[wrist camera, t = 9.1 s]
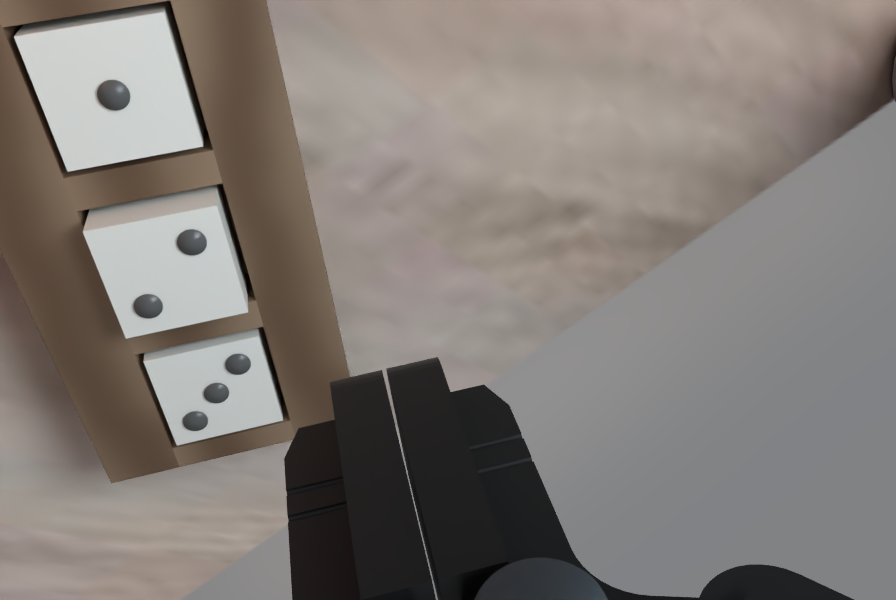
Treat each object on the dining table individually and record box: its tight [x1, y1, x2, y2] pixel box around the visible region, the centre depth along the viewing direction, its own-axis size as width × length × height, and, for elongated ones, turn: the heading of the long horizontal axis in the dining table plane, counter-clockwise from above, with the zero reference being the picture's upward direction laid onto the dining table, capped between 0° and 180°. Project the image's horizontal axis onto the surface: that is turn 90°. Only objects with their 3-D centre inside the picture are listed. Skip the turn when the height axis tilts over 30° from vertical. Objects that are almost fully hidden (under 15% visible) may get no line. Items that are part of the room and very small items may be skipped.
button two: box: [83, 184, 248, 339], centre depth 33 cm, size 5×5×3 cm
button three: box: [143, 327, 283, 445], centre depth 38 cm, size 5×5×3 cm
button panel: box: [0, 0, 350, 483], centre depth 35 cm, size 12×22×4 cm, turn 7°
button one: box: [14, 1, 204, 172], centre depth 30 cm, size 5×5×3 cm
